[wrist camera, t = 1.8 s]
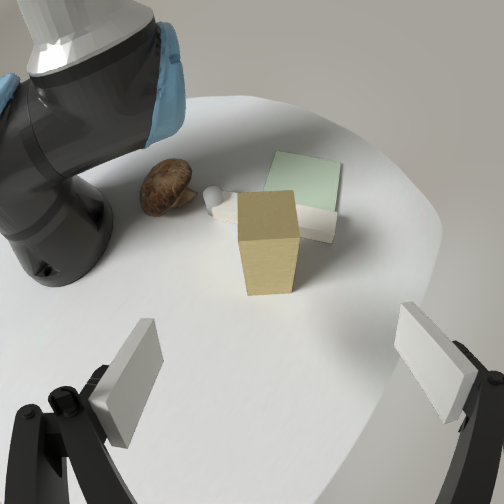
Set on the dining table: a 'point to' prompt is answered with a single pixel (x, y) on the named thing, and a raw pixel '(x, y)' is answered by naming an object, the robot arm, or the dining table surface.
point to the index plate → (305, 179)
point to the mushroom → (166, 187)
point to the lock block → (268, 240)
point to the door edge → (309, 218)
